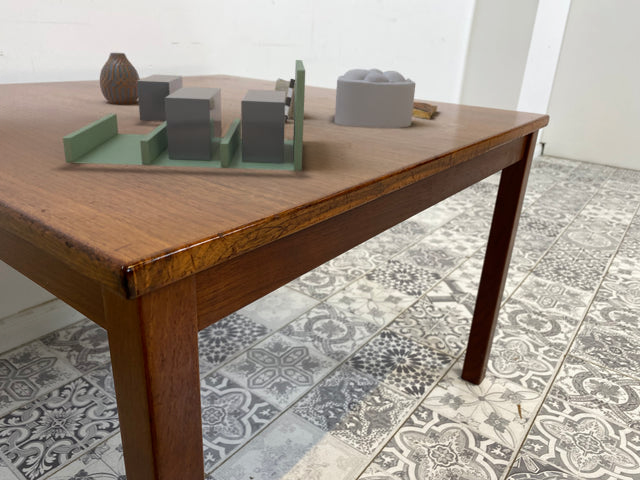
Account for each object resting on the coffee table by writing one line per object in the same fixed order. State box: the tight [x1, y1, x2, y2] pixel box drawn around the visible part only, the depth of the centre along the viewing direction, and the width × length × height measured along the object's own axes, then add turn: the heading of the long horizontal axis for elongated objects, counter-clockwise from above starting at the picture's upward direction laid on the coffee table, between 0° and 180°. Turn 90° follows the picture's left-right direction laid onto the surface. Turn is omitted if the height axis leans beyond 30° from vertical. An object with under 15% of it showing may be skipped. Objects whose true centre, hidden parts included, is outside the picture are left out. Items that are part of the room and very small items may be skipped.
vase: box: [99, 52, 141, 105], centre depth 94 cm, size 7×7×9 cm
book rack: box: [62, 59, 306, 172], centre depth 59 cm, size 24×15×11 cm, turn 93°
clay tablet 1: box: [165, 86, 223, 161], centre depth 59 cm, size 4×10×6 cm, turn 3°
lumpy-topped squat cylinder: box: [334, 68, 416, 129], centre depth 88 cm, size 10×13×9 cm
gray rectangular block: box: [137, 74, 184, 122], centre depth 80 cm, size 4×10×6 cm, turn 3°
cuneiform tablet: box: [273, 77, 306, 124], centre depth 89 cm, size 7×4×12 cm
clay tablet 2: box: [240, 88, 286, 163], centre depth 60 cm, size 4×10×6 cm, turn 3°
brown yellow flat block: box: [412, 101, 438, 120], centre depth 100 cm, size 11×8×2 cm
